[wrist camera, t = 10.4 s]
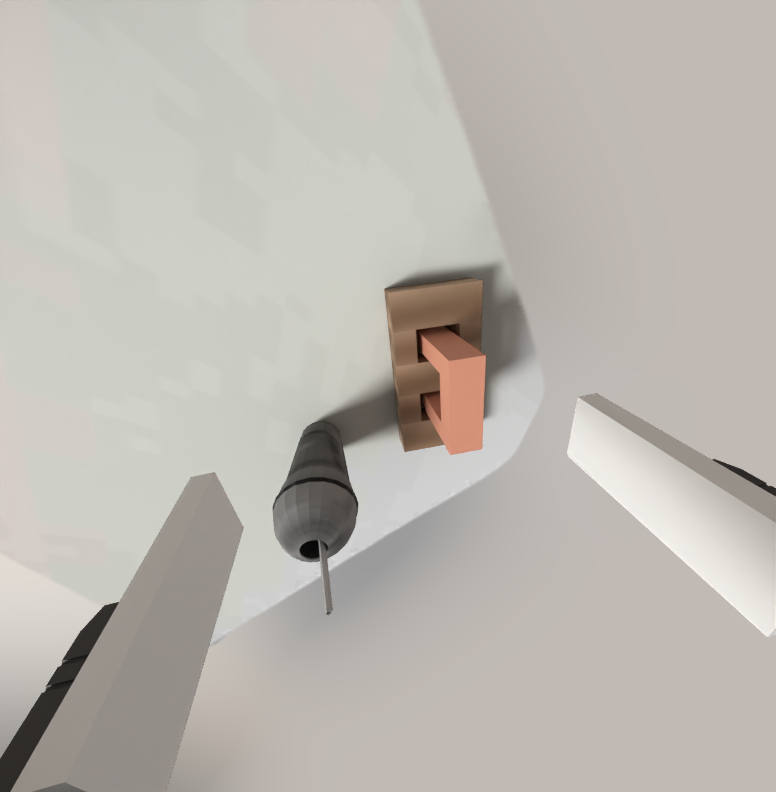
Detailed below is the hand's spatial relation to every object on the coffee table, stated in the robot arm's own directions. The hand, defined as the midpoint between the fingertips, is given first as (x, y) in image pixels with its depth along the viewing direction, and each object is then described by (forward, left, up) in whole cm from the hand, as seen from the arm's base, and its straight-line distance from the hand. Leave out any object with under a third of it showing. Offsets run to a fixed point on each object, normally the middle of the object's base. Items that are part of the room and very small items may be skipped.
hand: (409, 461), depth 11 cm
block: (+6, +7, -23) cm, 25 cm away
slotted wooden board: (+6, +7, -23) cm, 25 cm away
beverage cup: (+13, -7, -23) cm, 27 cm away
